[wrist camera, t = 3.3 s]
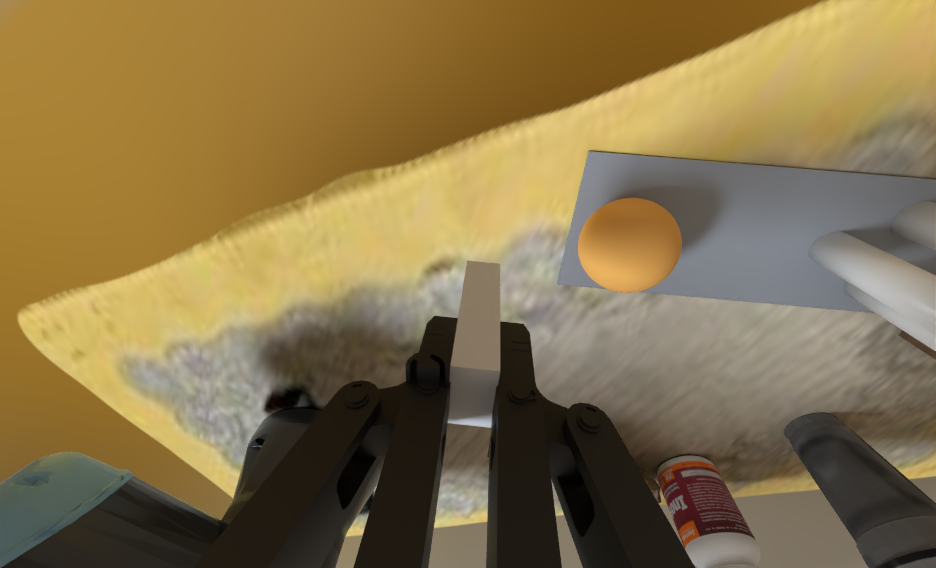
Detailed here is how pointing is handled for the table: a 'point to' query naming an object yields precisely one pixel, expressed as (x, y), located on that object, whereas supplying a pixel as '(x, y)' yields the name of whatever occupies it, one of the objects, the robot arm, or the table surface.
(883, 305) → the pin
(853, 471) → the beverage cup
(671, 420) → the table surface
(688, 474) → the pill bottle
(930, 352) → the back wall
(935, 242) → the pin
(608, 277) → the ball
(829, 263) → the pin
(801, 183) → the lane mat
